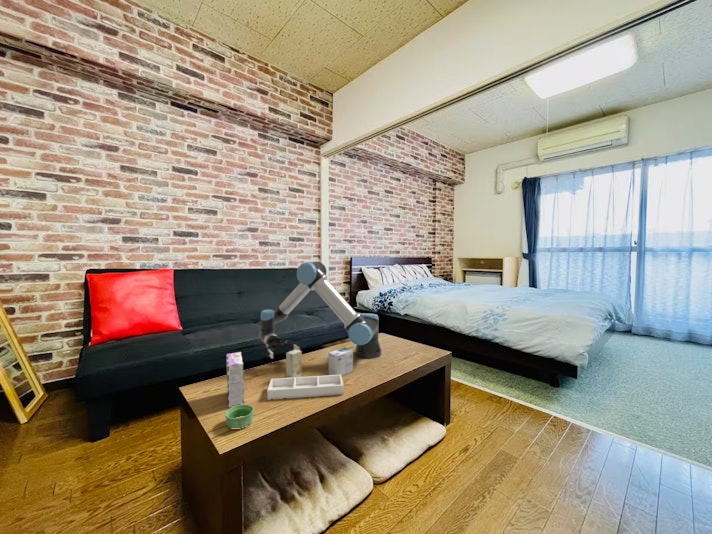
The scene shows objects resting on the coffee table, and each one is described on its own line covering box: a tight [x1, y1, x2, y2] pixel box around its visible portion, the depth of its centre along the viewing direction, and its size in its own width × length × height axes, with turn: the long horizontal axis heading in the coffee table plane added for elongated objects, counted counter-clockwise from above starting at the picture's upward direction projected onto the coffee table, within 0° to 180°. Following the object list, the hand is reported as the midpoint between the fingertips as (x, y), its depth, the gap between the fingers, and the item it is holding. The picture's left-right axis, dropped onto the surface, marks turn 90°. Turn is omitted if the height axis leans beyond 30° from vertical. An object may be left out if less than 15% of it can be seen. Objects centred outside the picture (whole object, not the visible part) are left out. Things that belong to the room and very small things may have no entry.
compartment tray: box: [266, 374, 345, 401], centre depth 122 cm, size 30×11×4 cm, turn 98°
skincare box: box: [285, 349, 303, 378], centre depth 134 cm, size 6×4×12 cm
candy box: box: [226, 351, 245, 408], centre depth 115 cm, size 14×6×16 cm, turn 24°
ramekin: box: [224, 403, 255, 429], centre depth 99 cm, size 9×9×4 cm
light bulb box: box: [327, 347, 354, 377], centre depth 140 cm, size 11×7×11 cm, turn 134°
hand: (286, 353), depth 143 cm, fingers open, 13 cm apart
